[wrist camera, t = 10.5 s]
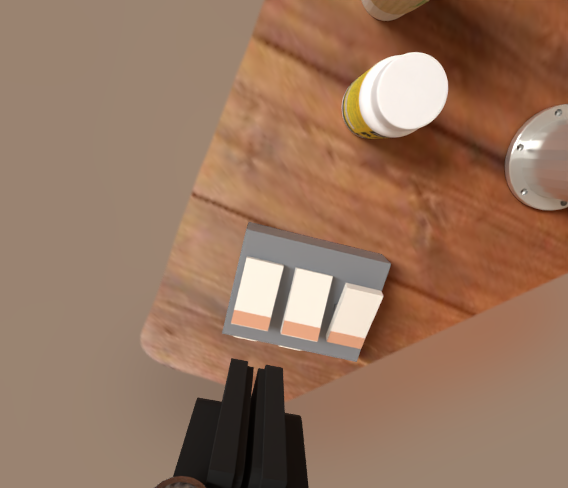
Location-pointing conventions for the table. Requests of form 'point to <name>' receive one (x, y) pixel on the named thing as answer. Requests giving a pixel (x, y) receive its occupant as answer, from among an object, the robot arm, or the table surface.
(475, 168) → the table surface
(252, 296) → the block
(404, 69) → the supplement bottle
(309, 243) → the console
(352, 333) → the block
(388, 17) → the coffee cup
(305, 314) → the rocker
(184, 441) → the robot arm
